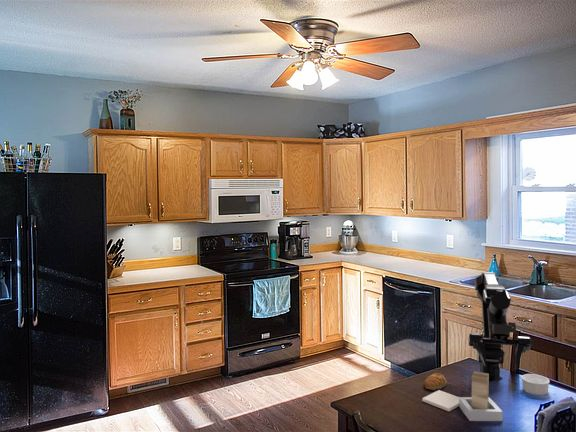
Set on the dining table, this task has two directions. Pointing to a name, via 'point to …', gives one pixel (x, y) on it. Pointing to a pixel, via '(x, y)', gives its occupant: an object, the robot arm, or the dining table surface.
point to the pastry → (435, 381)
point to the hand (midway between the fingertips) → (501, 367)
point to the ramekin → (535, 384)
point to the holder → (480, 410)
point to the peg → (480, 390)
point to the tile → (442, 400)
